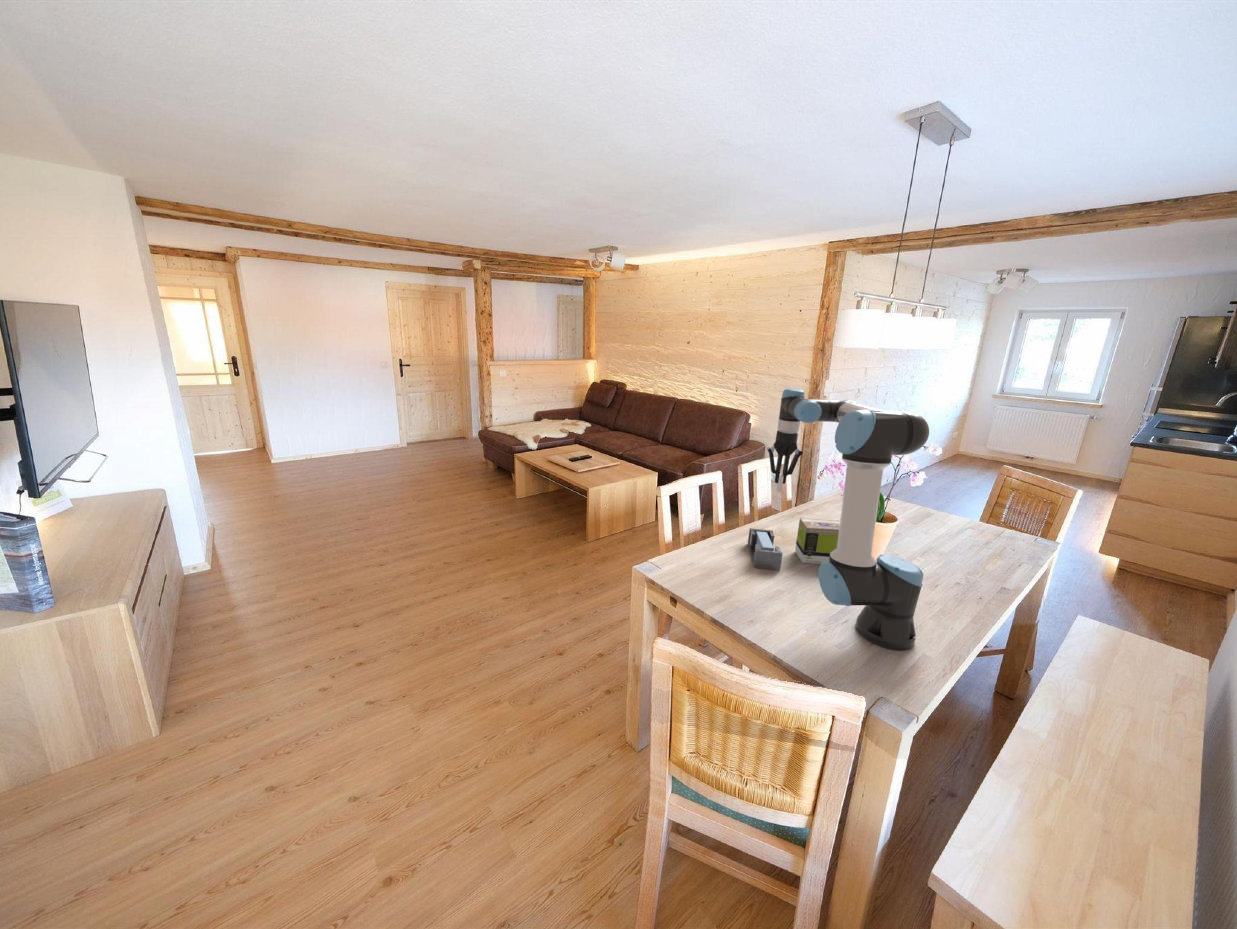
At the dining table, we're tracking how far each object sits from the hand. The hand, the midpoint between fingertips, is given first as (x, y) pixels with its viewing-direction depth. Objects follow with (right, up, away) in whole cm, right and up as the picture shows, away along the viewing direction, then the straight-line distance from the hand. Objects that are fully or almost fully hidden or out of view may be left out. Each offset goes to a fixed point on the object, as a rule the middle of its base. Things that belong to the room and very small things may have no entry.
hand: (778, 490), depth 180 cm
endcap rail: (-6, -25, 0) cm, 26 cm away
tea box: (+15, -26, 0) cm, 30 cm away
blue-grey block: (-6, -24, 0) cm, 25 cm away
